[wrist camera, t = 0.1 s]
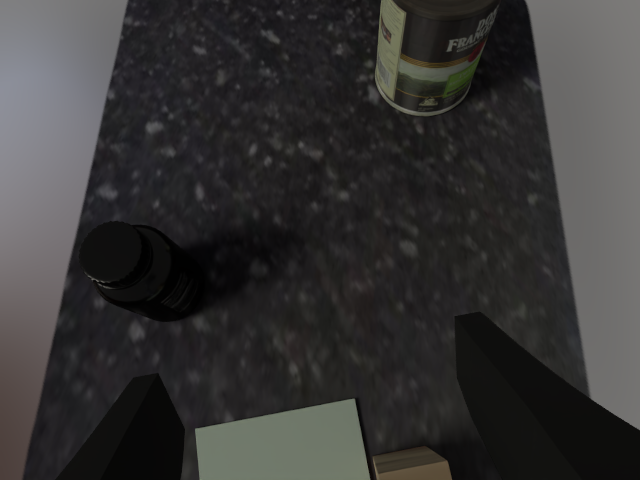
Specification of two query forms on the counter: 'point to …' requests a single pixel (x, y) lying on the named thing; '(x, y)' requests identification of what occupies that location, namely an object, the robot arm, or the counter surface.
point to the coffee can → (430, 51)
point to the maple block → (411, 465)
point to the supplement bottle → (142, 271)
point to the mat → (286, 446)
